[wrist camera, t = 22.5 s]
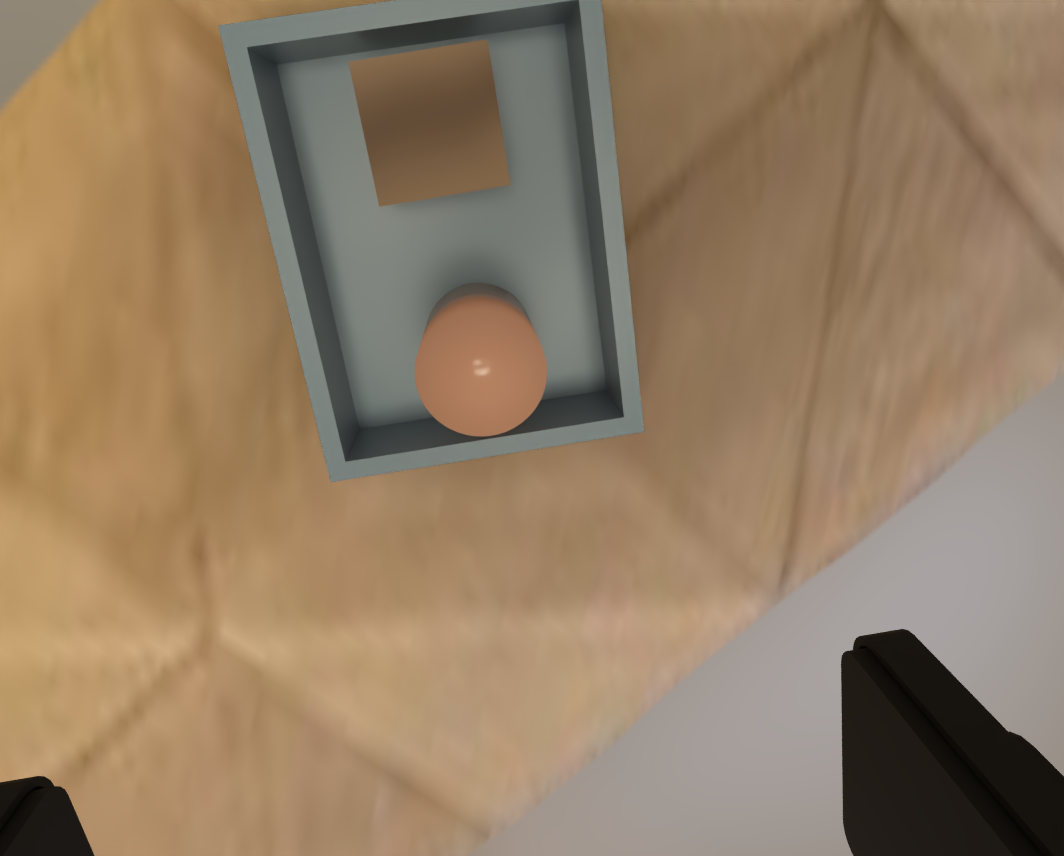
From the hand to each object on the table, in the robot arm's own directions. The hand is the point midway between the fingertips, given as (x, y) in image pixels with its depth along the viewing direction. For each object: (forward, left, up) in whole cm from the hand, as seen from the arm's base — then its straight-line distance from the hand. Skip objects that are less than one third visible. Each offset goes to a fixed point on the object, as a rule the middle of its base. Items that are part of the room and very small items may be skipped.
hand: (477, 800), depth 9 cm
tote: (0, -5, -28) cm, 29 cm away
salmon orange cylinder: (0, 0, -28) cm, 28 cm away
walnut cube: (0, -9, -28) cm, 29 cm away
